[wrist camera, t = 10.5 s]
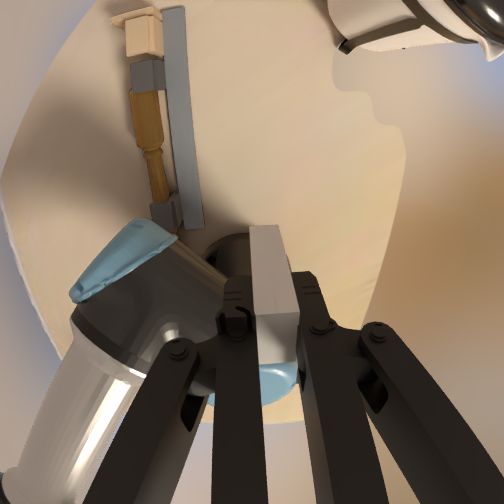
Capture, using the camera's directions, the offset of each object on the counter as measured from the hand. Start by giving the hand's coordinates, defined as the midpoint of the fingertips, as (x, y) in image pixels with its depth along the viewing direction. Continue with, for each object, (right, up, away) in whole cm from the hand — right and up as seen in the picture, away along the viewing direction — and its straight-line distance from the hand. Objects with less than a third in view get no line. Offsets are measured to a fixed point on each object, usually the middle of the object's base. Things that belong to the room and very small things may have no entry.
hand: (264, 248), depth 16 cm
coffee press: (+14, +33, +12) cm, 38 cm away
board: (-13, +18, +20) cm, 30 cm away
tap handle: (-14, +13, +23) cm, 30 cm away
